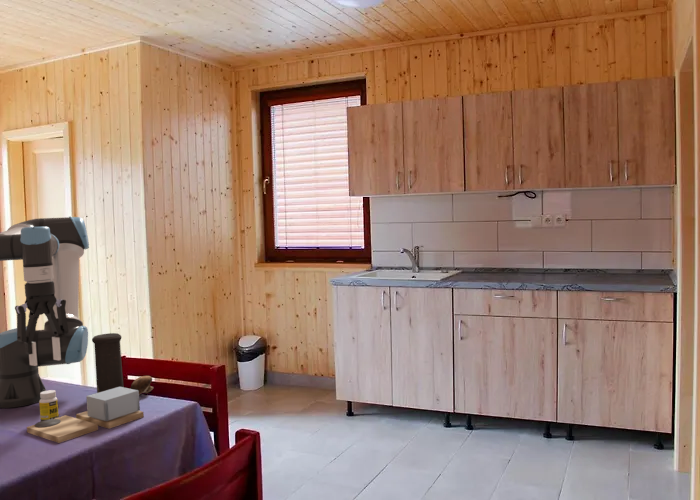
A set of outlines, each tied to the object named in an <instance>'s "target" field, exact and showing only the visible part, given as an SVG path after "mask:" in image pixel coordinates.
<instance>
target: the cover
mask: <svg viewBox="0 0 700 500" xmlns="http://www.w3.org/2000/svg"><path fill="white" fill-rule="evenodd" d="M140 404H141V403H140V395H139V391H138V390H134V389H131V388H128V387H117V388H113V389H110V390H106V391H103V392H99V393H97V392H96V393H93V394H90V395H86V411H88V416H89V417H93V418H96V419H100V420H104V421H109V420H112V419H115V418H118V417H121V416H124V415H127V414H130V413H133V412H136V411H141V407H140Z"/></svg>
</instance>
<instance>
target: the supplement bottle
mask: <svg viewBox="0 0 700 500" xmlns="http://www.w3.org/2000/svg"><path fill="white" fill-rule="evenodd" d="M40 398H41V399H40V401H39V402H38V403H39V404H38V405H39V419H40V421H44V420H48V419H55V418H58V417H60V416H59V415H60V414H59V405H58V404H59V400H58V398H57V393H56V390H55V389H49V390H46V391H43V392H41V393H40Z"/></svg>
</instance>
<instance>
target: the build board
mask: <svg viewBox="0 0 700 500" xmlns="http://www.w3.org/2000/svg"><path fill="white" fill-rule="evenodd" d="M98 430H99V426H98V424H95V423H91V422H88V421H84V420H80V419H77V418H76V417H73V416H69V415H62V416H59V417H58V418H55V419H48V420H44V421H41V420H40V421H38V422H36V423H34V424H33V425H29V426H26V432H27V433H28V434H30V435H33V436H37V437H39V438H43V439H45V440H49V441H52V442H55V443H58V444H60V443H63V442H66V441H69V440H72V439H76V438H78V437H81V436H84V435H87V434H90V433H92V432H93V433H94V432H95V431H96V432H97V431H98Z"/></svg>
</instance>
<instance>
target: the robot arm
mask: <svg viewBox="0 0 700 500" xmlns="http://www.w3.org/2000/svg"><path fill="white" fill-rule="evenodd" d="M89 245H90V244H89V238H88V231H87V226H86V223H85V220H84V219H83V218H82V217H80V216H68V217H45V218H43V217H42V218H32V219H28V220H24V221H21V222H19V223H16V224H13V225H11V226H9V228H7V230H5V231H2V232H0V262H3V261H19V260H20V261H21V260H22V269H23V272H22V273H23V281H24V282H26V283H24V295H25V300H24V303H23V304H20V305H15V306H14V309H15V313H16V328H12V329H8V330H5V331H2V332H0V408H1V409H10V408H17V407H19V408H20V407H24V406H29V405H32V404H37V403H39V401H40V399H41V398H40V393H41V392H43V391H47V389H46V387H45V385H44V383H43V380H42V379H41V375H40V373H39V367H48V366H57V365H58V366H59V365H71V364H75V363H80V362H82V361H83V360H84V359H85V357H86V354H87V351H88V345H89V330H88V327H87V326H85V325H84V323H83V321H82V320H81V319H80V318H79V290H80V289H79V286H80V284H79V282H80V279H79V278H80V258H81V257H83V256H84V254H85V250H87V249H89V248H90V246H89ZM27 309H28V310H29V312H28V320H27V314H26V312H27ZM42 315H44V316H45V317H46V319H47V320H46V321H45V322H44V325H43V326H44V328H43V329H36V328H37V323H38V320H39V318H40V316H42Z"/></svg>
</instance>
